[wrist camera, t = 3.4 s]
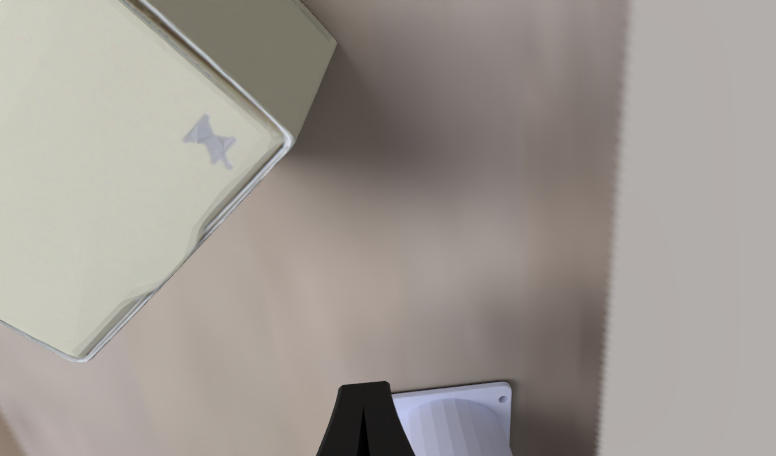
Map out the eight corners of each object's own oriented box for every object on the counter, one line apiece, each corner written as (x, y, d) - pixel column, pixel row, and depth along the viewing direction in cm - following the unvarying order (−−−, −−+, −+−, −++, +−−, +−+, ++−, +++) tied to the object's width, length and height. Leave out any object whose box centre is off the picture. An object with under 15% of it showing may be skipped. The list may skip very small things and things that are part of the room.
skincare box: (250, -53, 15) (-8, -177, 4) (342, 43, 17) (319, 128, 6) (146, 82, 17) (-219, 231, 6) (238, 157, 19) (77, 379, 8)
